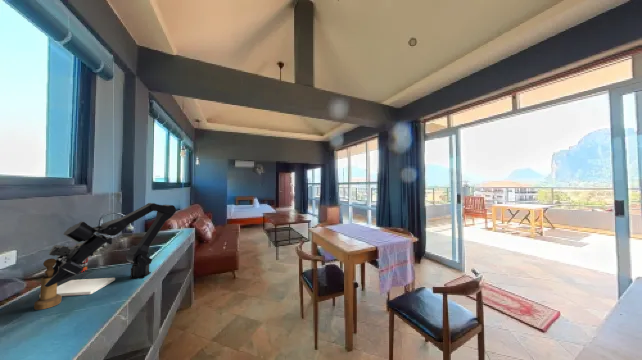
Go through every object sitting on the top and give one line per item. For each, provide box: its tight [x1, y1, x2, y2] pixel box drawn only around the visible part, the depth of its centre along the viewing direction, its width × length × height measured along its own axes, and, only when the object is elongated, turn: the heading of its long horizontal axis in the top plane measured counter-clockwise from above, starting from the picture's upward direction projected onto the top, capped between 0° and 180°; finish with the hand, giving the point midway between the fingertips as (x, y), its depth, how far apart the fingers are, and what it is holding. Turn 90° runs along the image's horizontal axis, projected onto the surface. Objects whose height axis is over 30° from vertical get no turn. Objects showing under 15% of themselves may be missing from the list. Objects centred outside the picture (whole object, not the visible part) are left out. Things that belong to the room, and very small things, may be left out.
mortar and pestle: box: [33, 258, 63, 311], centre depth 81 cm, size 7×6×18 cm
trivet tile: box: [38, 277, 116, 299], centre depth 94 cm, size 18×13×1 cm
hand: (45, 282), depth 80 cm, fingers open, 9 cm apart
